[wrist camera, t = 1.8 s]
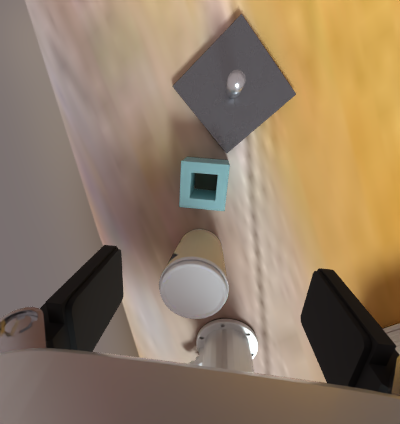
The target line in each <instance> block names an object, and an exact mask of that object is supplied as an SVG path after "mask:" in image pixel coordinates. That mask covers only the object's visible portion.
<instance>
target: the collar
mask: <svg viewBox="0 0 400 424" xmlns="http://www.w3.org/2000/svg"><path fill="white" fill-rule="evenodd" d="M229 167H230V164H229V161H228V160H220V159H208V158H196V157H186V158H185V159H183V160H182V161H181V179H180V202H179V207H185V208H196V209H207V210H217V211H225V202H226V193H227V184H228V176H229ZM195 173H203V174H214V175H218V176H217V186H216V190H205V189H194V185H195Z"/></svg>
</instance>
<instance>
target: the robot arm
mask: <svg viewBox="0 0 400 424" xmlns="http://www.w3.org/2000/svg"><path fill="white" fill-rule="evenodd" d="M122 299H123V278H122V258H121V250H119V249H118V248H117V246H110V245H104V246H103V247H102V248H101V249H100V250H99V251H98V252H97V253H96V254H95V255H94V256H93V257H92V258H91V259H90V260H88V262H86V263H85V264H84V265H83V266H82V267H81V268H80V269H79V270H78V271H77V272H76V273H75V274H74V275H73V276H72V277H71V278H70V279H69V280H68V281H67V282H66V283H65V284H64V285H63V286H62V287H61V288H60V289H59V290H58V291H56V292H55V293H54V294H53V295H52V296H51V297H50V298H49V299H48V300H47V301H46V303H45V304H44V305H43V306H42V307H41V308H40V309H39V308H35V307H25V308H20V309H17V310H14V311H12V312H10V313H8V314H6V315H4V316H3V317H1V318H0V424H400V355H399V353H398V352H397V351H396V350H395V348H396V345H395V343H394V342H393V341H392V340H391V339H390V337H389V336H388V335H387V334H386V333H385V331H384V330H383V329H382V328H381V327H380V325H379V324H378V323H377V322H376V321H375V319H374V318H373V317H372V316H371V315H370V313H369V312H368V311H367V310H366V309H365V307H364V306H363V305H362V304H361V303H360V301H359V300H358V299H357V298H356V297H355V295H354V294H353V293H352V292H351V291H350V289H349V288H348V287H347V286H346V285H345V283H344V282H343V281H342V280H341V279H340V277H339V276H338V275H337V274H336V273H335V271H333V270H330V269H318V270H317V271H314V273H313V276H312V279H311V283H310V286H309V289H308V293H307V296H306V300H305V303H304V307H303V310H302V313H301V323H302V326H303V328H304V330H305V333H306V335H307V337H308V340H309V342H310V344H311V347H312V349H313V351H314V354H315V356H316V358H317V361H318V363H319V365H320V368H321V370H322V372H323V374H324V377H325V379H326V381H327V383H322V382H315V381H308V380H301V379H294V378H287V377H280V376H273V375H266V374H259V373H254V369H253V362H252V359H253V358H254V357H255V355H256V353H257V350H258V343H257V338H256V335H255V333H254V332H253V330H252V329H251V328H250V327H248V326H247V325H246V324H244V323H242V322H240V321H237V320H233V319H218V320H214V321H211V322H209V323H207V324H206V325H204V326H203V327H202V328H201V329H200V331H199V333H198V335H197V341H196V345H197V350H198V352H199V356H197V357H196V360H195V361H191V362H190V363H188V364H185V363H177V362H170V361H162V360H154V359H146V358H139V357H130V356H123V355H115V354H106V353H97V352H92V351H93V350H94V348H95V346H96V344H97V343H98V341H99V339H100V337H101V336H102V334H103V332H104V331H105V329H106V327H107V326H108V324H109V322H110V320H111V319H112V317H113V315H114V313H115V312H116V310H117V308H118V307H119V305H120V303H121V301H122Z"/></svg>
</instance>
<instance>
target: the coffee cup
mask: <svg viewBox="0 0 400 424" xmlns="http://www.w3.org/2000/svg"><path fill="white" fill-rule="evenodd" d="M159 290H160V294H161V297H162V300H163V302H164V303H165V305H166V306H167V307H168V308H169V309H170V310H171V311H173V312H174V313H176V314H177V315H180V316H182V317H185V318H190V319H202V318H206V317H209V316H211V315H213V314H215V313H216V312H218V311H219V310H220V309H221V308H222V306H223V305H224V304H225V302H226V300H227V298H228V293H229V284H228V280H227V277H226V270H225V264H224V258H223V252H222V247H221V243H220V241H219V239H218V238H217V237H216V235H214V234H213V233H211V232H210V231H207V230H203V229H196V230H192V231H190V232H188V233H187V234H185V235H184V236H183V238H182V239H181V241H180V242H179V244H178V246H177V248H176V250H175V251H174V253H173V255H172V257H171V259H170V261H169V263H168V265H167V267H166V268H165V269H164V271H163V273H162V275H161V277H160V281H159Z"/></svg>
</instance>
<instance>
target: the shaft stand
mask: <svg viewBox="0 0 400 424" xmlns="http://www.w3.org/2000/svg"><path fill="white" fill-rule="evenodd" d="M173 87H174V89H175V90H176V91H177V92H178V94H179V95H180V96H181V97H182V99H183V100H184V101H185V102H186V104H187V105H188V106H189V107H190V109H191V110H192V111H193V112H194V114H195V115H196V116H197V117H198V119H199V120H200V121H201V122H202V124H203V125H204V126H205V127H206V129H207V130H208V131H209V132H210V134H211V135H212V136H213V137H214V139H215V140H216V141H217V142H218V143H219V145H220V146H221V147H222V148H223V150H224V151H225V152H226V153H228V152H229V151H230V150H231V149H233V148H234V147H235V146H236V145H237V144H238V143H240V142H241V141H242V140H243V139H244V138H245V137H247V136H248V135H249V134H250V133H251V132H252V131H254V130H255V129H256V128H257V127H258V126H260V125H261V124H262V123H263V122H264V121H265V120H267V119H268V118H269V117H270V116H271V115H272V114H274V113H275V112H276V111H277V110H278V109H279V108H281V107H282V106H283V105H284V104H285V103H286V102H288V101H289V100H290V99H291V98H292V97H294V96H295V95H296V93H295V92H294V90H293V89H292V87H291V86H290V84H289V83H288V82H287V80H286V79H285V77H284V76H283V74H282V73H281V71H280V70H279V68H278V67H277V65H276V64H275V62H274V61H273V59H272V58H271V57H270V55H269V54H268V52H267V51H266V49H265V48H264V46H263V45H262V43H261V42H260V40H259V39H258V37H257V36H256V34H255V33H254V32H253V30H252V29H251V27H250V26H249V24H248V23H247V21H246V20H245V18H244V17H243V15H242V14H241V15H240V16H239V17H238V18H237V19H236V20H235V21H234V23H233V24H232V25H231V26H230V27H229V28H228V29H227V30H226V31H225V32H224V33H223V34H222V35H221V36H220V37H219V38H218V39H217V40H216V41H215V42H214V43H213V45H212V46H211V47H210V48H209V49H208V50H207V51H206V52H205V53H204V54H203V55H202V56H201V57H200V58H199V59H198V60H197V61H196V62H195V63H194V64H193V65H192V66H191V68H190V69H189V70H188V71H187V72H186V73H185V74H184V75H183V76H182V77H181V78H180V79H179V80H178V81H177V82H176V83H175V84H174V85H173Z"/></svg>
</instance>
